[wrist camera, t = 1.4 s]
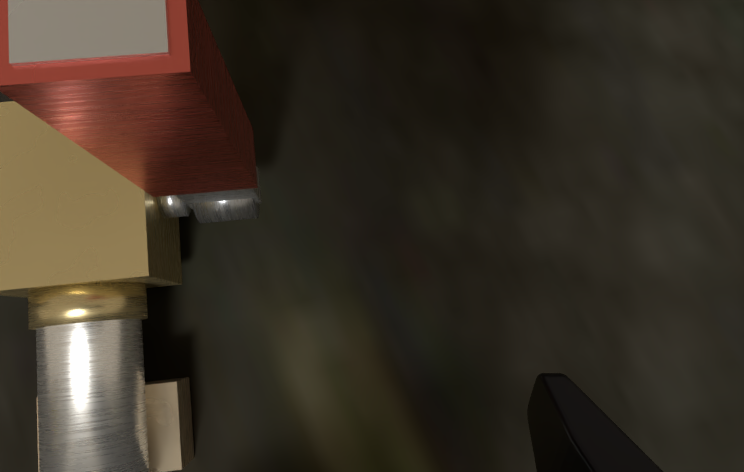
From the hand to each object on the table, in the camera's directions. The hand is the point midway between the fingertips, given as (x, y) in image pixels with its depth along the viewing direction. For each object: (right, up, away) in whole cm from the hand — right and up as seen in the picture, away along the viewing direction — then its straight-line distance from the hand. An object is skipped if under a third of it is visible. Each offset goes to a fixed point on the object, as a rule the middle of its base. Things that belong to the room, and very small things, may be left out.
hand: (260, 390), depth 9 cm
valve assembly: (-8, +1, +14) cm, 16 cm away
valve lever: (-3, +4, +12) cm, 13 cm away
